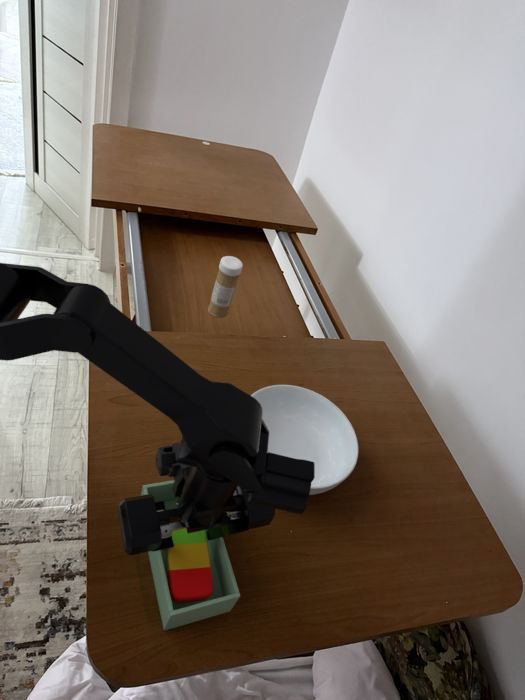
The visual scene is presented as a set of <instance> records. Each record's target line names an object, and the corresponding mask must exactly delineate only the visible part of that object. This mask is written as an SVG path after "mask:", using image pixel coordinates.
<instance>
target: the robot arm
mask: <svg viewBox="0 0 525 700" xmlns="http://www.w3.org/2000/svg"><path fill="white" fill-rule="evenodd" d="M30 302H39V303H46V304H48V305H50V306H51V307H53V308H55V310H54V312H53V313H39V314H35V315H30V316H25V317H21V315H23V312H24V311H25V309H26V308H27V307H28V305H29V303H30ZM20 317H21V318H20ZM54 351H55V352H64V353H72V354H73V353H74V354H75V353H78V355H81V356H82V357H83V358H85V359H86V360H87V361H89V362H90V363H91V364H93V365H94V366H96V367H97V368H98V369H100V370H102V371H103V372H104V373H106V374H107V375H109V376H110V377H111V378H113V379H114V380H116V381H117V383H118V382H119V383H120V384H121V385H122V386H124V387H125V388H126V389H129V390H130V391H131V392H132V393H134V394H135V395H137V396H138V397H140V398H141V399H142V400H144V401H145V402H147V403H148V404H150V405H151V406H152V407H153V408H154V409H156V410H158V411H159V412H161V413H162V414H163V415H164V416H166V417H167V418H169V419H170V420H171V421H172V422H173V423H175V425H176V426H177V427H178V429H179V432H180V433H181V437H180V441H179V442H174V443H172V444H171V445H165V446H159V447H158V448H157V449H156V450H157V451H156V453H155V467H156V469H157V472H158V476H159V477H166V476H168V477H169V478H171V477H173V480H174V484H173V487H172V490H173V494H174V497H178V498H179V501H177V503H176V505H177V508H175V509H169V510H166V509H165V505H164V501H160V502H155V501H154V497H153V495H152V494H147V495H141V494H140V495H136V496H130V497H125V498H122V499H121V501H120V502H119V503H118V506H117V515H118V516H117V517H118V520H119V521H118V522H119V527H120V533H121V539H122V544H123V550H124V551H123V552H124V553H125V554H127V555H128V556H135V555H139V554H143V553H148V552H149V551H152V552H155V551H161V550H163V551H165V550H169V549H171V548H173V547H174V543H173V539H172V532H173V531H175V530H180V529H185V528H186V529H187V533H193V532H197V531H202V530H207V538H208V541H210V540H214V539H218V538H221V537H223V538H225V537H229V536H232V535H237V534H241V533H244V532H248V531H249V530H250V529H251V530H252V529H256V528H262V527H266V526H270V525H271V523H272V521H273V519H274V518H275V516H276V510H279V511H284V512H287V513H292V514H296V515H303V514H304V512H305V511H306V510H307V507H308V506H307V505H308V501H309V496H310V495H309V493H310V488H311V482H312V481H313V479H314V478H315V463H314V462H312V461H308V460H303V459H295V458H290V457H286V456H282V455H278V454H274V453H270V452H268V441H269V430H268V428H267V427H266V425H265V423H264V421H263V419H262V407H261V404H260V403H259V402H258V401H257V400H256V399H255V398H253V397H252V396H251V395H250V394H248V393H247V392H245V391H244V390H242V389H240V388H239V387H237V386H235V385H234V384H232V383H230V382H228V381H227V382H225V381H213V380H209V379H208V378H207V377H204V376H203V375H201V374H200V373H198V372H197V370H195V369H194V368H192V367H191V366H190V365H189V364H188V363H186V362H185V361H184V360H183V359H182V358H180V357H179V356H178V355H176V354H175V353H174V352H173V351H171V350H170V349H169V348H168V347H166V346H165V345H164V344H162V342H159V341H158V339H156V338H155V337H153V336H152V335H151V334H150V333H149V332H147V331H146V330H145V329H143V328H142V327H141V326H140V325H138V324H137V323H136V322H134V320H133V319H131V318H130V317H128V316H127V315H126V314H125V313H123V312H122V311H121V310H120V309H118V308H117V307H116V306H114V304H113V303H111V300H110V298H109V295H108V294H107V293H106V292H105V291H104V290H103V289H102V288H100V287H98V286H96V285H94V284H90V283H84V282H74V281H67V280H65V279H63V278H62V277H60V276H58V275H57V274H54V273H52V272H51V271H49V270H47V269H45V268H44V267H40V266H34V265H26V264H25V265H23V264H16V263H4V262H0V361H7V362H8V361H15V360H20V359H23V358H28V357H32V356H36V355H41V354H44V353H49V352H54ZM181 521H182V522H181ZM175 522H176V523H175ZM178 522H179V523H178ZM172 523H173V524H172Z"/></svg>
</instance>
